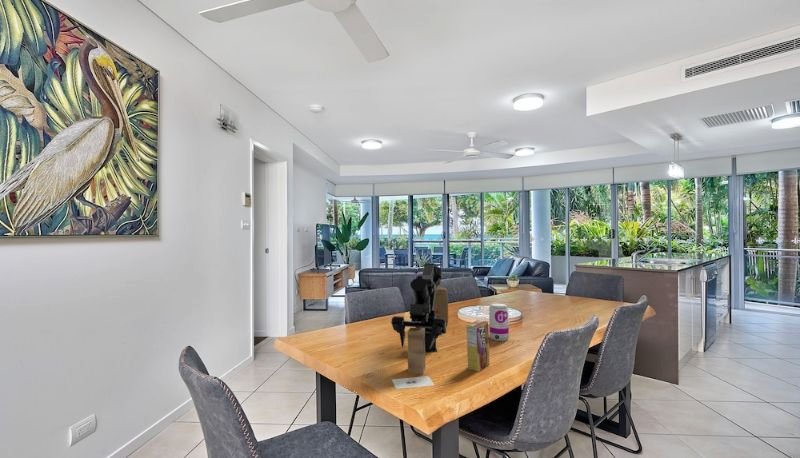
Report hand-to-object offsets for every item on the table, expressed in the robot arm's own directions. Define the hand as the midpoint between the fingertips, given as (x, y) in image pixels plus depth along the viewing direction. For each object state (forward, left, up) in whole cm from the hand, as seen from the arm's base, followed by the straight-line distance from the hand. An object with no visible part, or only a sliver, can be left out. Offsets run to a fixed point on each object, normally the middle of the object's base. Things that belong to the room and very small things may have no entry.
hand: (415, 347), depth 115 cm
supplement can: (-46, -30, -9) cm, 55 cm away
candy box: (-23, -1, -9) cm, 24 cm away
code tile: (+3, +7, -9) cm, 12 cm away
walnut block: (-1, -1, -9) cm, 9 cm away
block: (-26, -55, -9) cm, 61 cm away
